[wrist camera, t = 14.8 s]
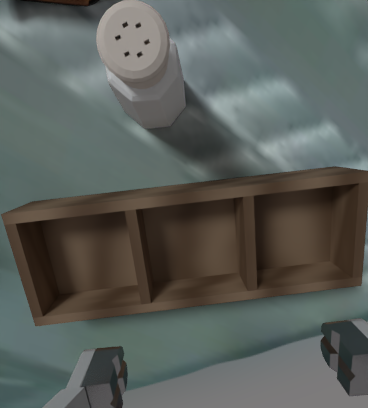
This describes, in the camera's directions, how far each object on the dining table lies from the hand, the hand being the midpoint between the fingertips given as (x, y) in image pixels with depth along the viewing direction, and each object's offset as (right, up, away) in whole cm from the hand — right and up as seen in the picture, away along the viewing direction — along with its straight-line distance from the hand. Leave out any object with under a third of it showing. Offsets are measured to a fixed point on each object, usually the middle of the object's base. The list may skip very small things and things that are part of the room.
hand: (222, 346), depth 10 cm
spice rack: (-1, +3, +13) cm, 13 cm away
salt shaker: (-4, +15, +10) cm, 18 cm away
